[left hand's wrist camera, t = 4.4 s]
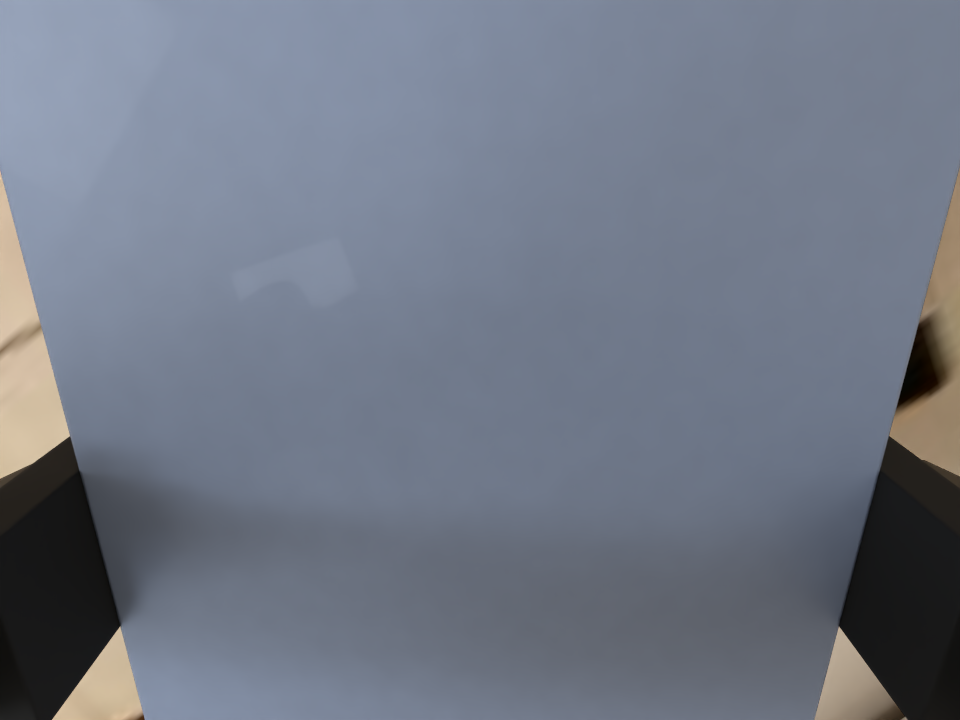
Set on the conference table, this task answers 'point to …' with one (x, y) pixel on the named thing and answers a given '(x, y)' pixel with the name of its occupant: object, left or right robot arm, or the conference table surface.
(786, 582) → the cabinet
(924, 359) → the conference table surface
